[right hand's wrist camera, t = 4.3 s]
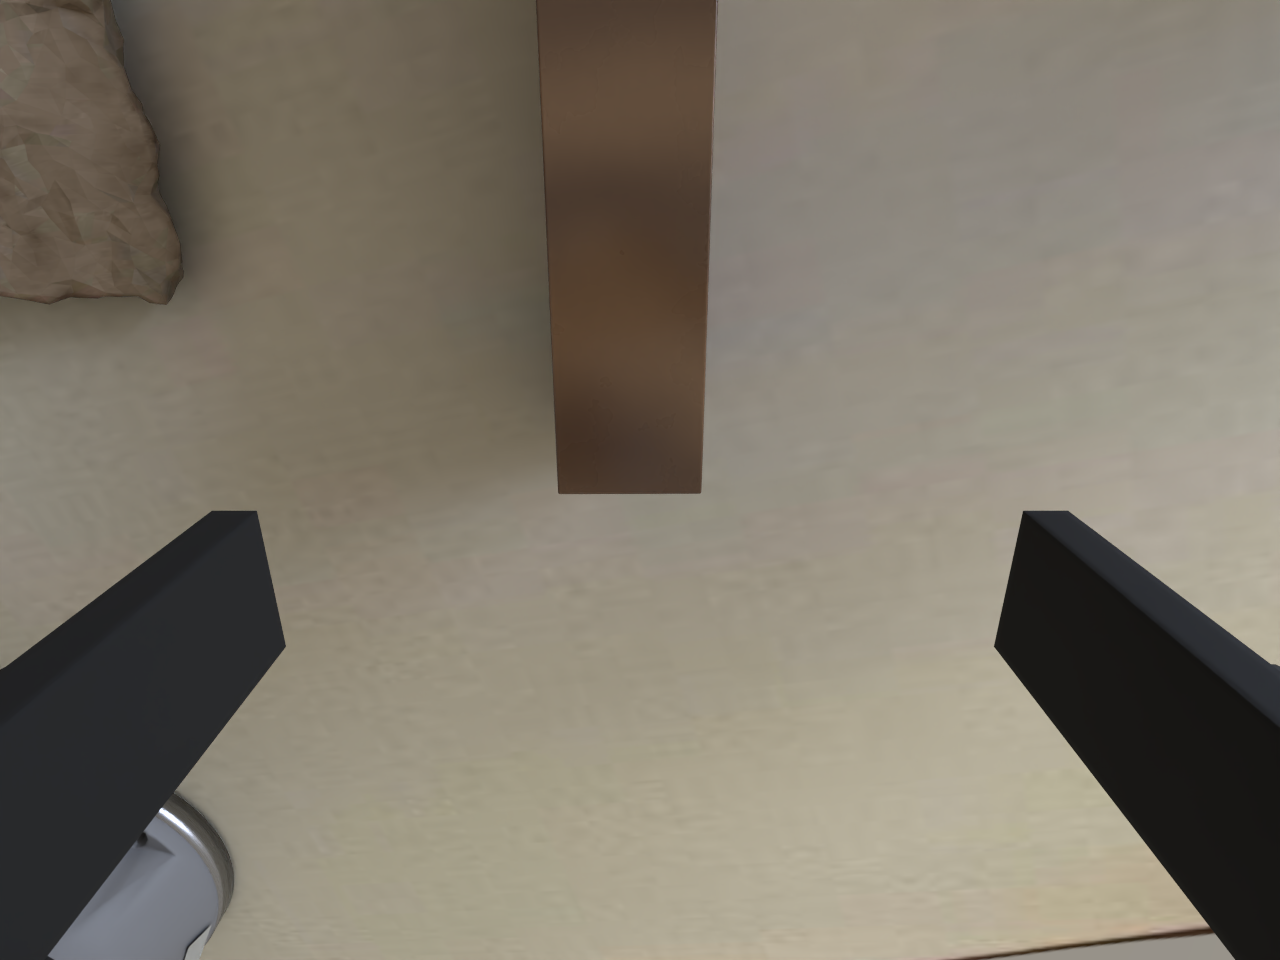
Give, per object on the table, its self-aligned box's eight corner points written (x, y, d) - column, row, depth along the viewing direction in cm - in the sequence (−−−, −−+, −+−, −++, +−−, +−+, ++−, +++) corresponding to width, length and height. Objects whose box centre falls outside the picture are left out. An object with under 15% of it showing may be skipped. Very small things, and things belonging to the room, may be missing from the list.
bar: (684, 420, 34) (701, 494, 25) (576, 420, 34) (557, 494, 25) (702, -351, 24) (739, -634, 16) (550, -353, 24) (506, -636, 16)
